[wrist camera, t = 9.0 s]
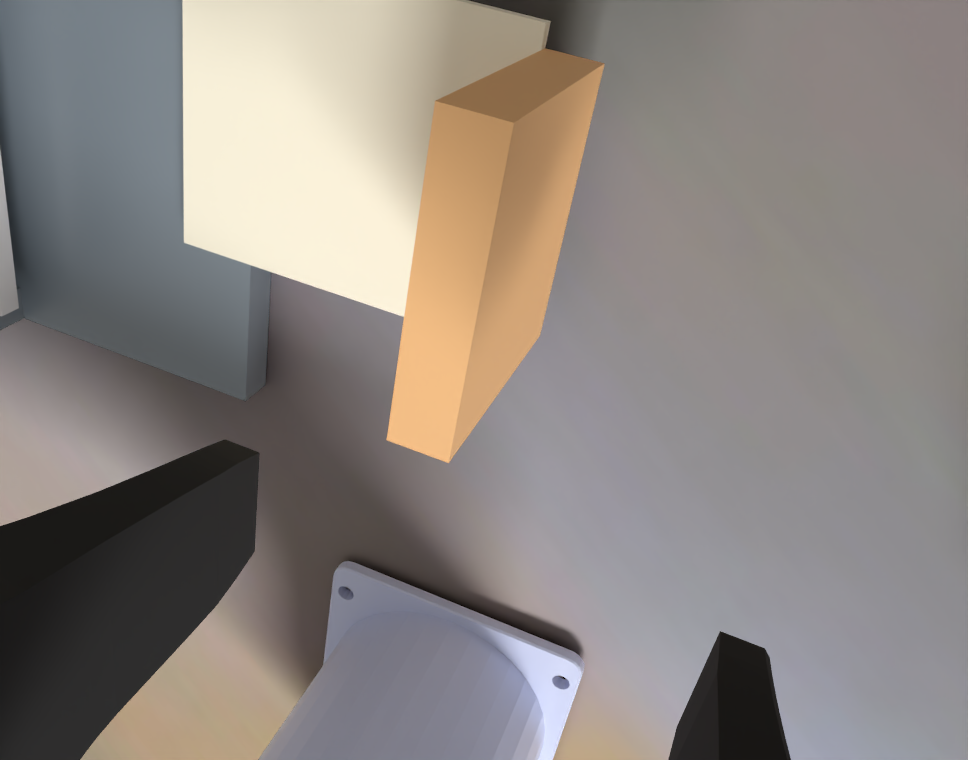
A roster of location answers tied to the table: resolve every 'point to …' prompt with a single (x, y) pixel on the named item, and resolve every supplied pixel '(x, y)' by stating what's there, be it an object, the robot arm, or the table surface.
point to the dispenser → (114, 195)
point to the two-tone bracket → (392, 174)
